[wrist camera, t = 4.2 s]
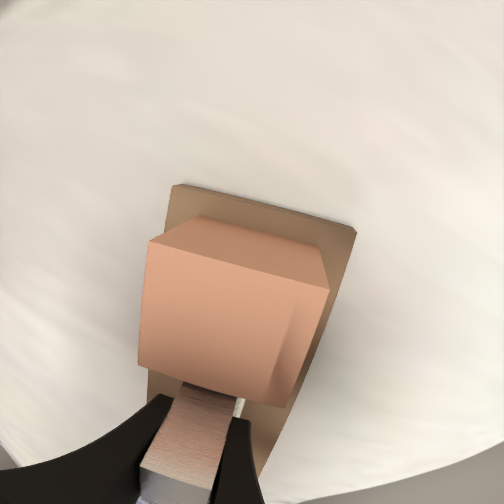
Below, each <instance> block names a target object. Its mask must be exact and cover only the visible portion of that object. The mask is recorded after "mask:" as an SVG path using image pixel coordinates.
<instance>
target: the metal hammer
mask: <svg viewBox="0 0 504 504" xmlns="http://www.w3.org/2000/svg"><path fill="white" fill-rule="evenodd" d="M245 400H246V399H243V398H239V397H235V396H231V395H228V394H224V393H221V392H217V391H214V390H210V389H207V388H204V387H201V386H197V385H194V384H191V383H188V382H185V381H184V382H183V384H182V386H181V388H180V390H179V391H178V393H177V395H176V397H175V399H174V401H173V403H172V406H171V408H170V410H169V412H168V414H167V415H166V417H165V418H164V420H163V422H162V424H161V426H160V428H159V430H158V432H157V433H156V435H155V437H154V439H153V441H152V443H151V445H150V447H149V449H148V451H147V453H146V454H145V456H144V458H143V460H142V462H141V464H140V466H139V468H140V487H141V500H143V501H146V502H148V503H151V504H207V501H208V500H210V496H211V490H212V486H213V482H214V479H215V476H216V472H217V469H218V465H219V462H220V458H221V455H222V451H223V448H224V444H225V441H226V435H227V431H228V428H229V424H230V422H231V419H232V416H234V417H238V418H240V416H241V413H242V410H243V406H244V403H245Z"/></svg>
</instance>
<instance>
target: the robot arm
mask: <svg viewBox="0 0 504 504" xmlns="http://www.w3.org/2000/svg"><path fill="white" fill-rule="evenodd" d="M174 399H175V398H172V397H169V396H166V395H164V394H161V393H159V394H157V395H156V396H155V397H154V398H153V399H152V400H151V401H149V402H148V403H147V404H146V405H145V406H144V407H143V408H141V409H140V410H139V411H138V412H137V413H135V414H134V415H133V416H131V417H130V418H129V419H127V420H126V421H125V422H123V423H122V424H121V425H119V426H118V427H116V428H115V429H113V430H112V431H110V432H109V433H107V434H105V435H104V436H102V437H101V438H99V439H97V440H95V441H94V442H92V443H90V444H88V445H86V446H84V447H82V448H80V449H78V450H76V451H73V452H71V453H68V454H66V455H63V456H61V457H58V458H55V459H52V460H49V461H46V462H42V463H38V464H34V465H31V466H26V467H21V468H15V469H7V470H0V504H149V503H148V502H146V501H143V500H141V496H140V495H141V487H140V468H139V466H140V464H141V462H142V460H143V458H144V456H145V454H146V453H147V451H148V449H149V447H150V445H151V443H152V441H153V439H154V437H155V435H156V433H157V432H158V430H159V428H160V426H161V424H162V422H163V420H164V418H165V417H166V415H167V414H168V412H169V410H170V408H171V406H172V403H173V401H174ZM209 504H265V503H264V500H263V497H262V493H261V490H260V486H259V483H258V478H257V474H256V469H255V464H254V459H253V452H252V443H251V422H250V421H249V420H246V419H242V418H238V417H234V416H232V419H231V422H230V424H229V428H228V431H227V435H226V441H225V444H224V448H223V451H222V455H221V458H220V462H219V465H218V469H217V472H216V476H215V479H214V482H213V486H212V490H211V496H210V501H209Z"/></svg>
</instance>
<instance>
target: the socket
mask: <svg viewBox="0 0 504 504" xmlns="http://www.w3.org/2000/svg"><path fill="white" fill-rule="evenodd" d="M329 291H330V288H329V284H328V280H327V276H326V272H325V269H324V265H323V261H322V258H321V254H320V250H319V247H318V246H314V245H310V244H307V243H303V242H299V241H295V240H291V239H288V238H284V237H280V236H276V235H272V234H269V233H265V232H261V231H257V230H253V229H249V228H245V227H242V226H238V225H234V224H230V223H226V222H222V221H218V220H214V219H210V218H206V217H202V216H196V217H194V218H192V219H190V220H188V221H186V222H184V223H182V224H180V225H178V226H176V227H175V228H173V229H171V230H169V231H167V232H165V233H163V234H161V235H159V236H157V237H155V238H154V239H152V240H150V241H149V244H148V252H147V259H146V268H145V276H144V286H143V296H142V307H141V319H140V333H139V349H138V365H140V366H143V367H145V368H148V369H151V370H153V371H156V372H159V373H162V374H164V375H167V376H170V377H173V378H176V379H179V380H182V381H185V382H188V383H191V384H194V385H197V386H201V387H204V388H207V389H210V390H214V391H217V392H221V393H224V394H228V395H231V396H235V397H239V398H243V399H246V400H250V401H254V402H258V403H262V404H267V405H271V406H275V407H280V408H285V406H286V404H287V401H288V399H289V396H290V394H291V392H292V389H293V387H294V384H295V382H296V380H297V377H298V375H299V372H300V370H301V367H302V365H303V362H304V360H305V357H306V354H307V352H308V349H309V347H310V344H311V341H312V339H313V336H314V333H315V331H316V328H317V325H318V322H319V320H320V317H321V314H322V311H323V308H324V306H325V303H326V300H327V297H328V294H329Z"/></svg>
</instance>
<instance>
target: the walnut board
mask: <svg viewBox="0 0 504 504" xmlns="http://www.w3.org/2000/svg"><path fill="white" fill-rule="evenodd" d="M196 216H202V217H206V218H210V219H214V220H218V221H222V222H226V223H230V224H234V225H238V226H242V227H245V228H249V229H253V230H257V231H261V232H265V233H269V234H272V235H276V236H280V237H284V238H288V239H291V240H295V241H299V242H303V243H307V244H310V245H314V246H318V247H319V250H320V254H321V258H322V261H323V265H324V269H325V272H326V276H327V280H328V284H329V288H330V291H329V294H328V297H327V300H326V303H325V306H324V308H323V311H322V314H321V317H320V320H319V322H318V325H317V328H316V331H315V333H314V336H313V339H312V341H311V344H310V347H309V349H308V352H307V354H306V357H305V360H304V362H303V365H302V367H301V370H300V372H299V375H298V377H297V380H296V382H295V384H294V387H293V389H292V392H291V394H290V396H289V399H288V401H287V404H286V406H285V408H280V407H275V406H271V405H267V404H262V403H258V402H254V401H250V400H245V403H244V406H243V410H242V413H241V416H240V418H242V419H246V420H249V421H250V422H251V443H252V452H253V459H254V464H255V469H256V474H257V478H258V477H259V475H260V473H261V471H262V469H263V467H264V465H265V463H266V461H267V459H268V457H269V455H270V453H271V451H272V449H273V447H274V445H275V443H276V441H277V439H278V437H279V435H280V432H281V430H282V428H283V426H284V424H285V422H286V420H287V417H288V415H289V413H290V411H291V409H292V406H293V404H294V402H295V400H296V397H297V395H298V393H299V391H300V388H301V386H302V384H303V381H304V379H305V376H306V374H307V372H308V369H309V367H310V364H311V362H312V359H313V357H314V354H315V352H316V349H317V347H318V344H319V342H320V339H321V337H322V334H323V331H324V329H325V326H326V323H327V321H328V318H329V315H330V313H331V310H332V307H333V304H334V301H335V299H336V296H337V293H338V290H339V287H340V284H341V281H342V278H343V275H344V272H345V269H346V266H347V263H348V260H349V257H350V254H351V251H352V247H353V244H354V241H355V238H356V234H357V232H356V231H355V230H354V229H353V228H352V227H349V226H346V225H342V224H339V223H335V222H332V221H328V220H324V219H321V218H317V217H313V216H310V215H306V214H302V213H299V212H295V211H291V210H287V209H283V208H280V207H276V206H272V205H268V204H264V203H260V202H256V201H252V200H248V199H244V198H240V197H236V196H231V195H227V194H223V193H219V192H214V191H210V190H206V189H201V188H197V187H192V186H188V185H183V184H179V185H173V186H172V189H171V195H170V200H169V206H168V212H167V217H166V223H165V230H164V233H165V232H167V231H169V230H171V229H173V228H175V227H176V226H178V225H180V224H182V223H184V222H186V221H188V220H190V219H192V218H194V217H196ZM183 382H184V381H182V380H179V379H176V378H173V377H170V376H167V375H164V374H162V373H159V372H156V371H153V370H151V369H149V372H148V389H147V403H148V402H149V401H151V400H152V399H153V398H154V397H155V396H156V395H157V394H159V393H161V394H164V395H166V396H169V397H172V398H175V397H176V395H177V393H178V391H179V390H180V388H181V386H182V384H183Z"/></svg>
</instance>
